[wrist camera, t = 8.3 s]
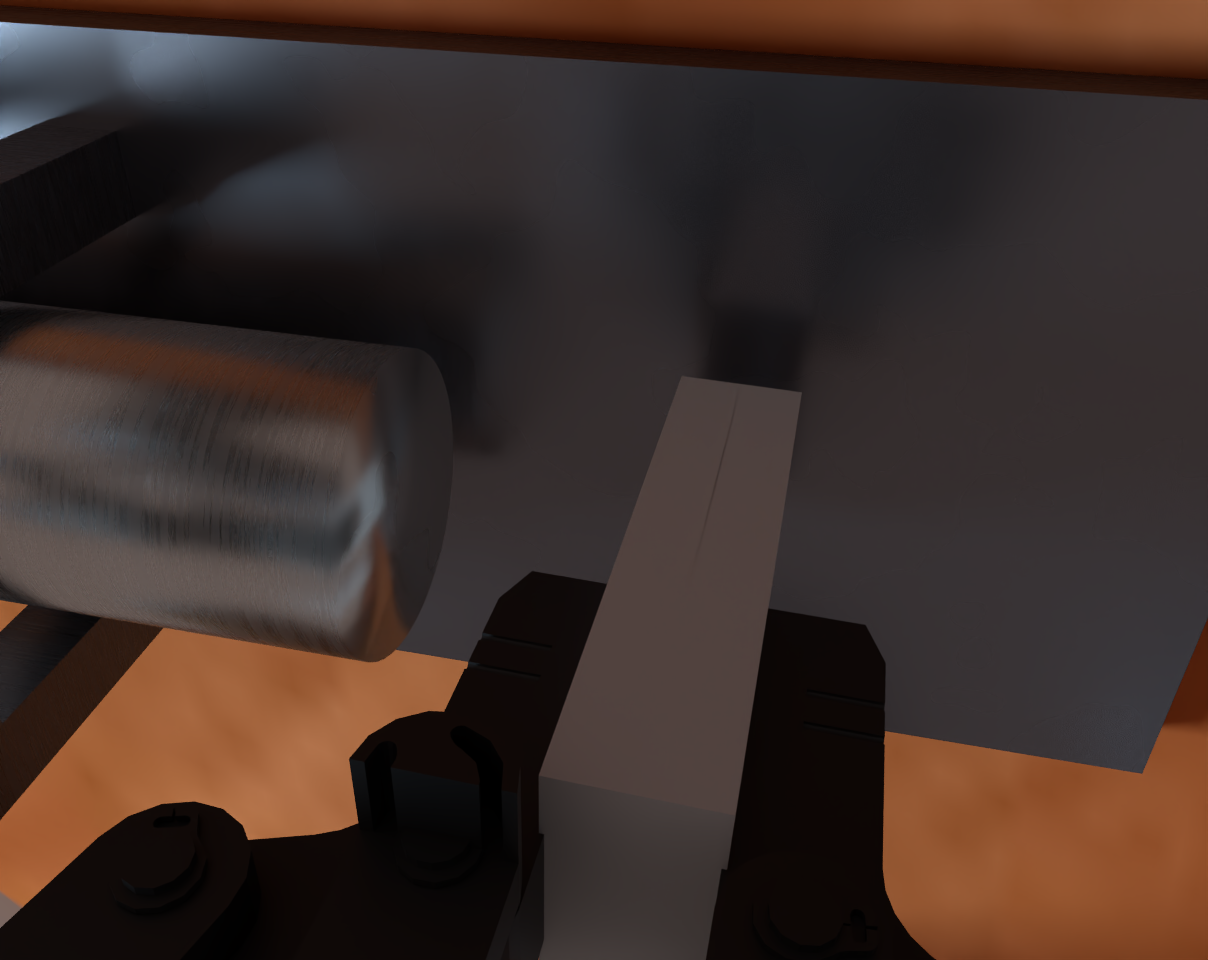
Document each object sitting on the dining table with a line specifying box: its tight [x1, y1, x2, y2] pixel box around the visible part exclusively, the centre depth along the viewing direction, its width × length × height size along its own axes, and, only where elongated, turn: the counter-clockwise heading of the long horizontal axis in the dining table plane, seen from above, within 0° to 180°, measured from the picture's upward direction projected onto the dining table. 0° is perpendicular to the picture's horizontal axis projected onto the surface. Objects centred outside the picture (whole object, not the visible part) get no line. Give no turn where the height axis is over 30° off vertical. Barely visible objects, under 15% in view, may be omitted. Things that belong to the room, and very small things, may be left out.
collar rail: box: [0, 5, 1208, 820], centre depth 14 cm, size 10×30×8 cm, turn 90°
